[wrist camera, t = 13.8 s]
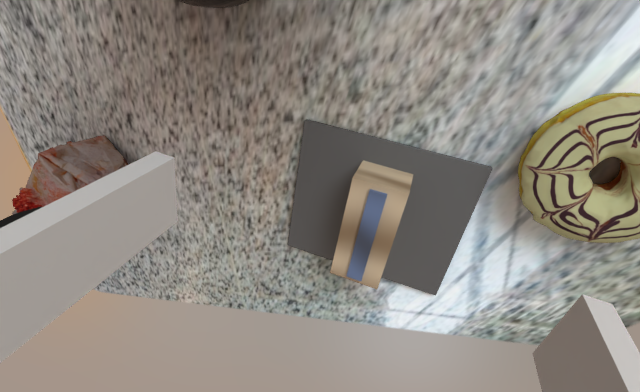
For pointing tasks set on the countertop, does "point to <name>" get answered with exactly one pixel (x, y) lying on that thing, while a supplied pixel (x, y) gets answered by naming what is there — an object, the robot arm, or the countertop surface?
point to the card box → (370, 222)
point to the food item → (68, 171)
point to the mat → (419, 213)
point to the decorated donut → (586, 170)
